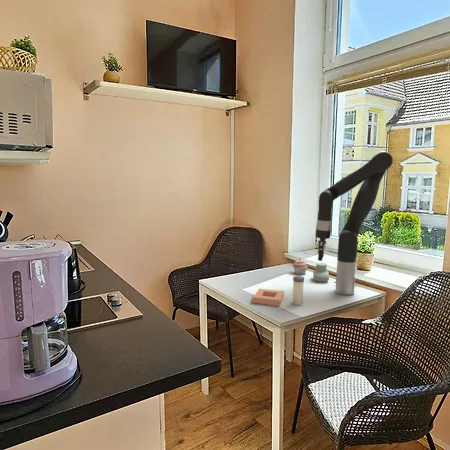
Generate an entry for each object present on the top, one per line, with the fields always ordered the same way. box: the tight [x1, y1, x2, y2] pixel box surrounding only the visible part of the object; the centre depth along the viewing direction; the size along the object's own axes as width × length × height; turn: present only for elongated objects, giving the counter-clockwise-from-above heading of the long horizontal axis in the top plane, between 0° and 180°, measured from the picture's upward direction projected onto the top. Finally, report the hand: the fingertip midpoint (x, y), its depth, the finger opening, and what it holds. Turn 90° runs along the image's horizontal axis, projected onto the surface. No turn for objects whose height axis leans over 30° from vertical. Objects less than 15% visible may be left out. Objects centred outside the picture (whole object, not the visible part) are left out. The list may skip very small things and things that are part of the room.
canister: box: [292, 275, 305, 306], centre depth 178 cm, size 5×5×13 cm
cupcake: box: [292, 257, 309, 276], centre depth 226 cm, size 9×9×10 cm
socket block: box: [253, 288, 285, 307], centre depth 182 cm, size 13×13×3 cm
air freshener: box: [312, 262, 330, 283], centre depth 213 cm, size 11×8×10 cm
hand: (320, 258), depth 195 cm, fingers open, 8 cm apart
